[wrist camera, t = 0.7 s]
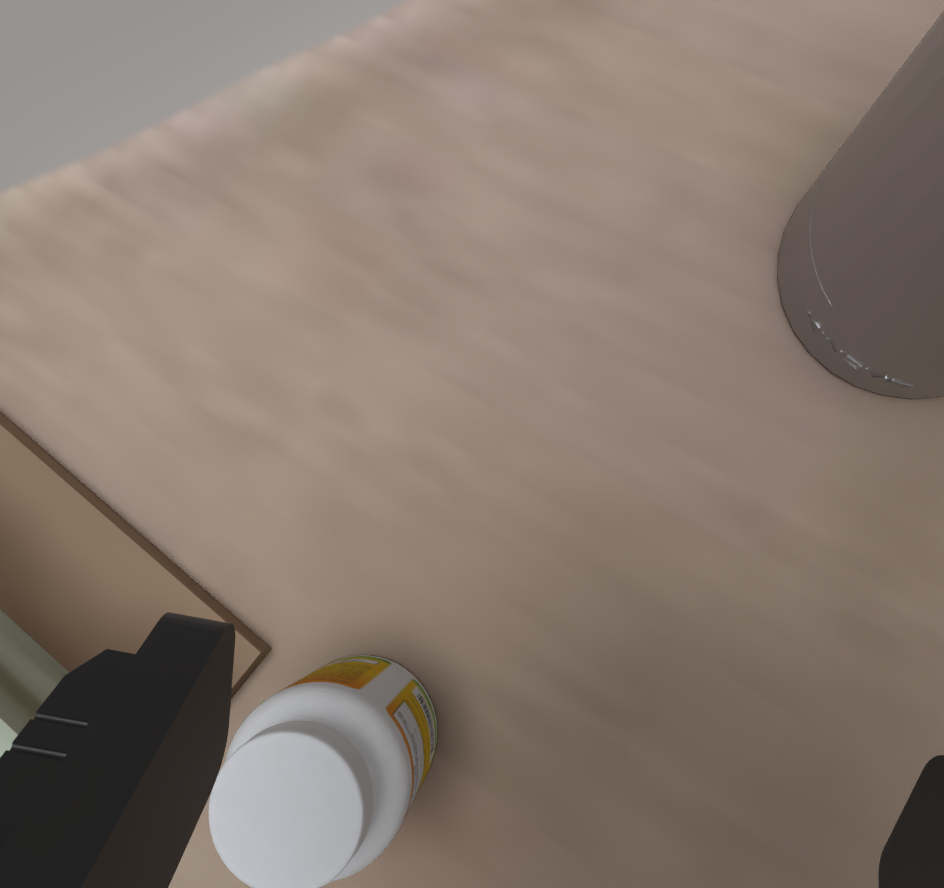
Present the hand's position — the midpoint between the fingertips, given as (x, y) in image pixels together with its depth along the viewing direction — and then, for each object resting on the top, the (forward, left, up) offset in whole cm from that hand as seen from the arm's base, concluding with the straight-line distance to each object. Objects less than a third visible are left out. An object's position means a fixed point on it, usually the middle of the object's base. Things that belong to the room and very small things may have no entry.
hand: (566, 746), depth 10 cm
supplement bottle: (+8, -3, -21) cm, 23 cm away
